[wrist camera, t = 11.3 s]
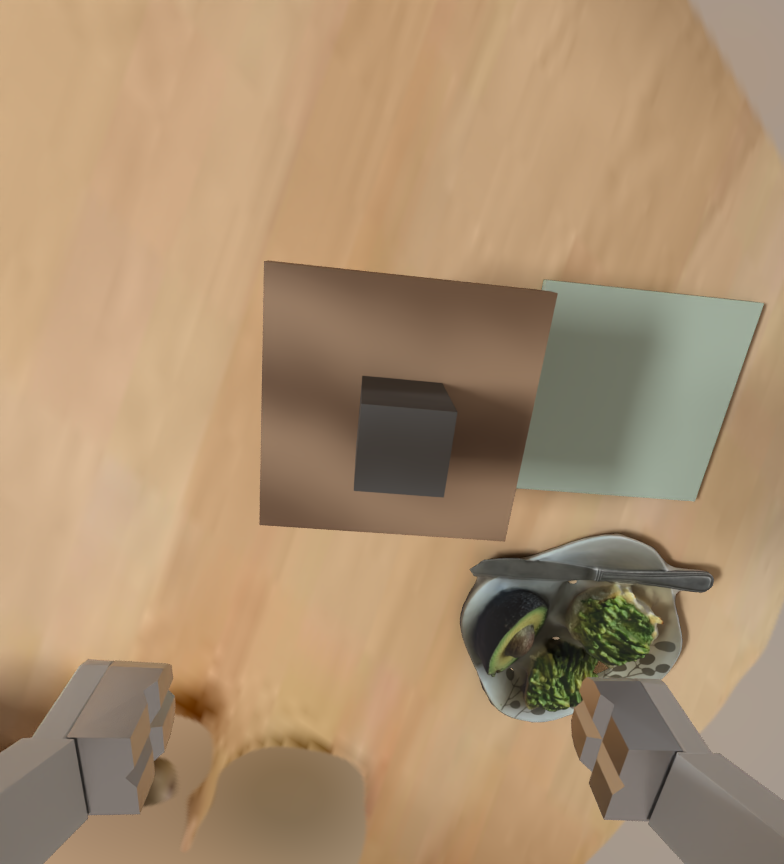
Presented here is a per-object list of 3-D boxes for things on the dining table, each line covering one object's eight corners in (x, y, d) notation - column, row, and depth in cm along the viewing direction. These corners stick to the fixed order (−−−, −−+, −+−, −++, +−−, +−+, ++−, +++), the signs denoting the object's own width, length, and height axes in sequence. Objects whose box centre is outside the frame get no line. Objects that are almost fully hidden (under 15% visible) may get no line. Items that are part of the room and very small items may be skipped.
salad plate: (684, 478, 37) (726, 509, 33) (714, 654, 44) (752, 700, 39) (433, 561, 39) (441, 601, 35) (496, 720, 45) (510, 771, 41)
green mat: (543, 279, 31) (547, 280, 31) (757, 302, 33) (764, 303, 32) (503, 483, 36) (505, 487, 36) (689, 497, 37) (694, 501, 37)
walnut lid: (267, 260, 21) (240, 267, 16) (551, 291, 22) (598, 305, 17) (262, 516, 25) (240, 576, 21) (501, 532, 26) (528, 593, 22)
